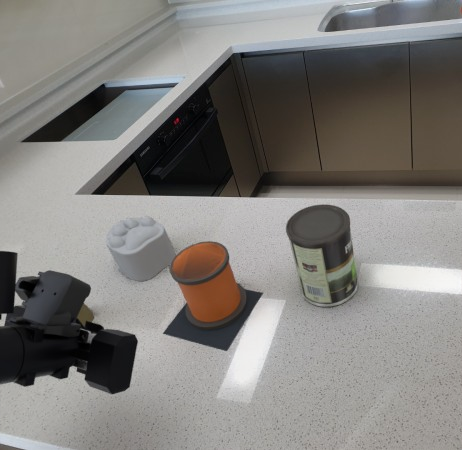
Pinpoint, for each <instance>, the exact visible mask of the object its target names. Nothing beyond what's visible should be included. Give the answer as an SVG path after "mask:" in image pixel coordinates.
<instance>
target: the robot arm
mask: <svg viewBox="0 0 462 450" xmlns="http://www.w3.org/2000/svg"><path fill="white" fill-rule="evenodd" d="M18 255H19V253H18V252H16V251H8V250H0V321H1V320H2V318H3V317H2V316H3V315H5V320H4V325H0V385H6V384H11V383H14V384H15V385H19V386H21V387H31V386H34V385H35V381H36V378H41V377H46V376H49V377H52V378H55V379H58V380H64V379H68V378H69V374H70V368H72V367H74V368H76V372H77V373H79V374H82V375H84V382H85V383H86V384H87V385H88V387H90V388H93V389H96V390H99V391H101V392H104V393H107V394H109V395H116V394H119V393H122V392H125V391H127V390H128V389H129V388H130V387H131V382H132V375H133V370H134V366H135V359H136V355H137V354H136V353H137V349H138V342H139V340H138V338H137V336H136V334H134V333H130V332H127V331H123V330H120V329H111V328H104V326H103V325H102V324H99V323H96V322H93V321H92V322H89V321H86V323H85V327H84V326H83V324H82V323H81V322H80V320H79V319H78V318H77V316H78V314H79V312H80V310H81V308H82V305H83V303H84V304H85V301H86V299H87V298H89V296H90V294H91V291H92V286H91V285H90V284H89V283H87V282H85V281H83V280H81V279H79V278H77V277H75V276H73V275H71V274H68V273H64V272H60V271H56V270H46V271H41V270H40V271H38V273H37V275H38V276H36V275H29V276H20V277H18V279H17V271H18V270H17V269H18V257H19V256H18ZM16 294H17V296H18V297H19V298H20V300H21V301H22V302H21V305H19V304H18V305H15V301H16V300H15V299H16Z"/></svg>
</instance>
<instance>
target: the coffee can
mask: <svg viewBox="0 0 462 450" xmlns="http://www.w3.org/2000/svg"><path fill="white" fill-rule="evenodd" d="M285 233H286V236H287V238H288V241H289V245H290V250H291V253H292V257H293V261H294V265H295V269H296V274H297V278H298V283H299V287H300V293H301V295H302V297H303V299H304V300H305V301H307V302H308V303H309V304H311V305H314V306H316V307H320V308H321V307H322V308H329V307H330V308H331V307H335V306H339V305H342V304H344V303H346V302H348V301H349V300H350V299H351V298H352V297H354V295H355V294H356V292H357V291H358V288H359V287H358V286H359V280H358V276H357V269H356V261H355V253H354V246H353V238H352V237H353V236H352V230H351V218H350V215H349V213H348V212H347V211H346V210H345V209H343V208H342V207H339V206H337V205H333V204H315V205H310V206H306V207H304V208H302V209H299V210H298V211H297V212H295V213H293V214H292V215H291V216H290V217H289V219H288V220H287V222H286V225H285Z"/></svg>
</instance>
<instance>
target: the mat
mask: <svg viewBox="0 0 462 450" xmlns="http://www.w3.org/2000/svg"><path fill="white" fill-rule="evenodd" d="M244 289H245V292H246V294H247V299H248V302H247V307H246V309H245V311H244V313H243V314H242V315H241V316H240V317H239V318H238V319H237V320H236V321H235V322H233V323H232V324H230V325H229V326H226V327H224V328H221V329H218V330H211V331H206V330H200V329H197V328H195V327H194V326H192V325H191V324H190V322H189V321H188V318H187V316H186V305H187V302H185V304H184V305H183V306H182V308H181V309H180V310H179V312H178V313H177V314H176V315H175V317H174V318H173V319H172V320H171V322H170V323H169V324H168V326H167V327H166V328H165V330H164V331H163V332H162V334H163V335H167V336H171V337H174V338H178V339H182V340H185V341H189V342H193V343H197V344H200V345H203V346H208V347H211V348H215V349H218V350H222V351H228V350H229V348H230V346H231V345H232V343H233V342H234V340H235V338H236V337H237V335H238V333H239V332H240V330H241V329H242V327H243V325H244V324H245V322H246V321H247V320H248V317H249V316H250V314H251V313H252V311H253V310H254V308H255V307H256V305H257V303H258V301H259V300H260V299H261V297H262V295H263V294H264V293H263V292H261V291H255V290H252V289H246V288H244Z"/></svg>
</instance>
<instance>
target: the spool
mask: <svg viewBox="0 0 462 450" xmlns="http://www.w3.org/2000/svg"><path fill="white" fill-rule="evenodd" d="M227 248H228V247H226V246H225V245H224V244H223V243H220V242H217V241H210V240H209V241H208V240H207V241H200V242H196V243H194V244H191V245H188V246H187V247H185V248H184V249H182V250H180V251H179V252H178V253H176V256H175V257H174V259H173V260H172V262H171V264H170V265H169V274H170V276H171V277H172V279H173V281H175V282H176V283H177V285H178V287H179V290H180V291H181V293H182V295H183V297H184V300H185V303H187V305H186V316H187V318H188V321H189V322H190V324H191V325H192V326H194V327H195V328H197V329H200V330H206V331H211V330H218V329H221V328H224V327H226V326H229V325H230V324H232V323H233V322H235V321H236V320H237V319H238V318H239V317H240V316H241V315H242V314H243V313H244V311H245V309H246V307H247V302H248V299H247V294H246V292H245V289H246V288H244V286H243V285H242V284H240V283H238V282H237V281H236V277H235V275H234V272H233V269H232V266H231V264H230V254H229V250H228V249H227Z"/></svg>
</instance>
